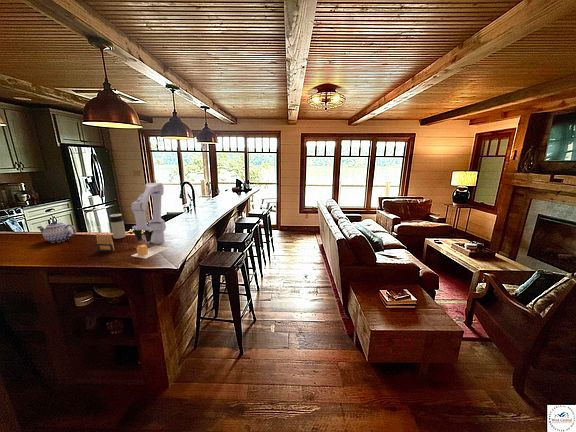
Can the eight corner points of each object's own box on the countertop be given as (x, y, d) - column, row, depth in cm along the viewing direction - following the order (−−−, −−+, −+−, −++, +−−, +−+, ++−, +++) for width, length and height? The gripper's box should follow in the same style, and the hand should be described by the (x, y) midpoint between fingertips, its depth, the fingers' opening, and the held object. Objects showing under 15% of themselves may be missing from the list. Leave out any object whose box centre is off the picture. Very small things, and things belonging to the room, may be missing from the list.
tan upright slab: (115, 250, 153) (112, 233, 150) (113, 251, 151) (110, 234, 148) (100, 250, 154) (96, 233, 151) (98, 251, 152) (94, 234, 149)
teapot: (85, 236, 178) (81, 218, 175) (68, 243, 163) (63, 224, 160) (51, 237, 177) (46, 218, 173) (31, 244, 162) (25, 224, 158)
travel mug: (127, 235, 183) (124, 213, 178) (122, 238, 175) (118, 216, 170) (117, 235, 181) (112, 213, 177) (111, 239, 174) (106, 216, 169)
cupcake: (135, 254, 143) (134, 247, 142) (143, 251, 148) (142, 244, 147) (142, 255, 142) (141, 248, 140) (149, 252, 147) (148, 245, 145)
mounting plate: (131, 257, 142) (129, 250, 141) (155, 247, 159) (154, 240, 157) (145, 260, 138) (144, 253, 137) (169, 249, 155) (168, 242, 154)
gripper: (126, 221, 140) (130, 241, 144) (144, 223, 136) (147, 244, 139) (136, 218, 147) (140, 237, 150) (154, 220, 142) (157, 240, 146)
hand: (144, 240), depth 145 cm, fingers open, 7 cm apart
